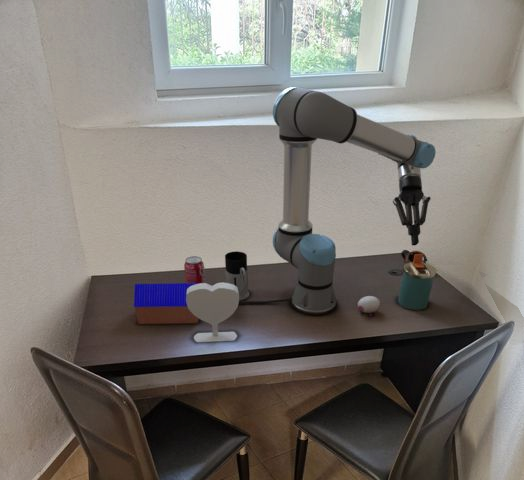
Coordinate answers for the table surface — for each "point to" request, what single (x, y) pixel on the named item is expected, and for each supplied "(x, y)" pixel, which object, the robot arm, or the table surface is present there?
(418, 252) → the pottery mug
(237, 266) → the grey coffee mug
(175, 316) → the house
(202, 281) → the soda can
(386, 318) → the table surface
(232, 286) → the heart sculpture
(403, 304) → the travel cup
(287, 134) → the robot arm
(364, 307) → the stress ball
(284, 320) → the table surface
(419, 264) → the slider
